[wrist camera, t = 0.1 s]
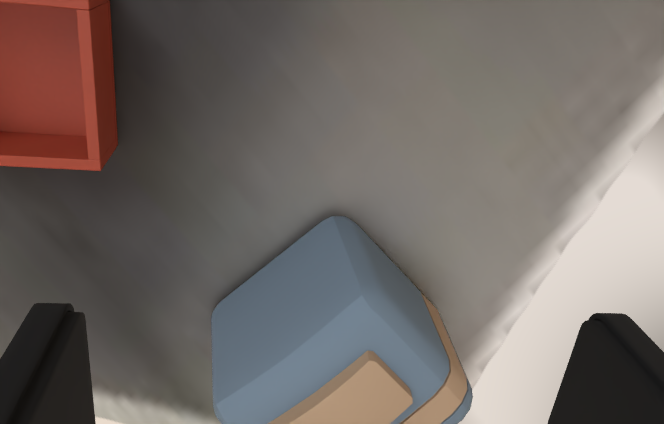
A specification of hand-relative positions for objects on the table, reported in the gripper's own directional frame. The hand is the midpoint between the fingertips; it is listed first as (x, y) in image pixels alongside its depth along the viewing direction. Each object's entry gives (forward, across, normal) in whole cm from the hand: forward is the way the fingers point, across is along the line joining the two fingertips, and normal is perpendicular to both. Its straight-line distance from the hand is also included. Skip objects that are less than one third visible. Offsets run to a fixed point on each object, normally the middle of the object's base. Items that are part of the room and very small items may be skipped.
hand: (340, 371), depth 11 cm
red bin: (+37, +18, +3) cm, 41 cm away
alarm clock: (+37, -6, +24) cm, 44 cm away
